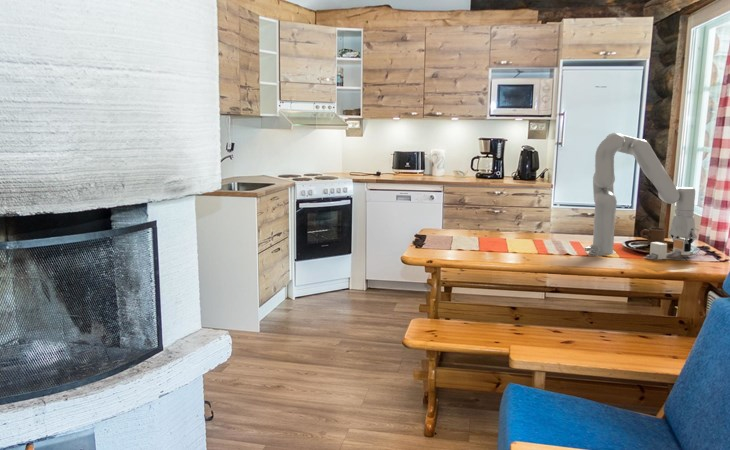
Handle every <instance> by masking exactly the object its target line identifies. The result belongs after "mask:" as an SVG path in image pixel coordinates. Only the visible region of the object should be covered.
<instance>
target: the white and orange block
mask: <svg viewBox="0 0 730 450" xmlns="http://www.w3.org/2000/svg"><path fill="white" fill-rule="evenodd" d="M688 240H689V238H688ZM685 243H686V241H685V238H683V237H680V238H674V245H673V244H672V252H681V255H688V254H690V251H691V250H690V251H689V252H685V251H684V248H685Z"/></svg>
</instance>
